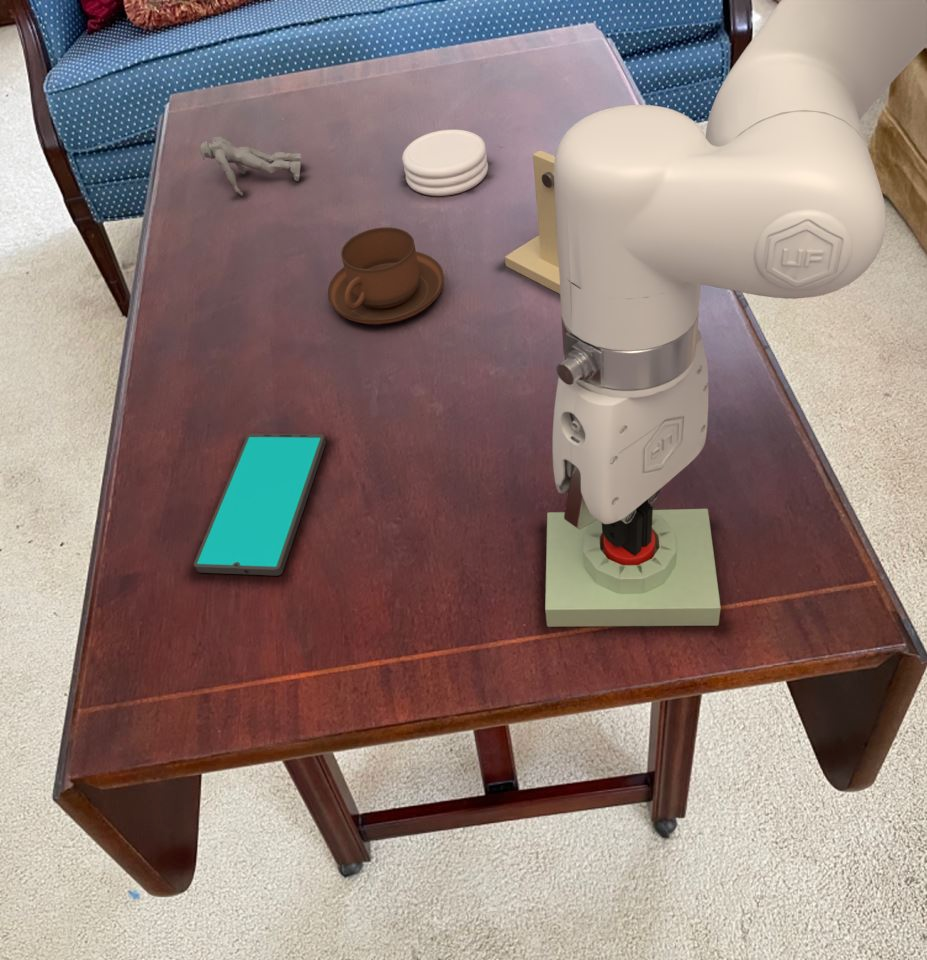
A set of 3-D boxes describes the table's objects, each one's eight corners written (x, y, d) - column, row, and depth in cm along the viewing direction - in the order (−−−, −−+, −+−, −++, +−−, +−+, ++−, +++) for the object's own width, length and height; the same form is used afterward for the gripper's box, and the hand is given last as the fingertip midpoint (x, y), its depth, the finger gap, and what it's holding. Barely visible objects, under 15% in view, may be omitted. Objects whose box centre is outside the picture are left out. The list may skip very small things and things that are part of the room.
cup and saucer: (432, 337, 92) (422, 285, 87) (317, 333, 95) (301, 283, 90) (457, 265, 100) (449, 214, 95) (350, 264, 102) (337, 214, 98)
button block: (706, 527, 72) (709, 492, 69) (718, 625, 66) (722, 592, 63) (548, 530, 74) (545, 496, 71) (547, 627, 67) (543, 594, 65)
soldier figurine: (297, 180, 121) (201, 164, 118) (301, 142, 118) (203, 124, 115) (296, 206, 117) (196, 190, 114) (300, 166, 113) (198, 149, 110)
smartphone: (324, 433, 83) (278, 569, 73) (327, 440, 84) (281, 576, 74) (246, 433, 84) (191, 566, 74) (249, 439, 85) (194, 572, 75)
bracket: (643, 263, 96) (645, 146, 86) (582, 306, 92) (577, 188, 83) (565, 227, 102) (559, 114, 93) (505, 266, 99) (493, 152, 89)
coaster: (420, 153, 117) (416, 127, 115) (497, 155, 115) (494, 128, 112) (395, 196, 111) (390, 169, 108) (476, 199, 108) (472, 171, 106)
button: (653, 534, 69) (653, 518, 67) (656, 573, 66) (656, 558, 65) (603, 535, 69) (602, 519, 68) (604, 574, 67) (604, 559, 66)
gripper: (587, 435, 48) (593, 634, 62) (765, 297, 54) (736, 506, 67) (488, 373, 52) (514, 572, 66) (663, 251, 58) (654, 456, 72)
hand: (626, 538), depth 67 cm, fingers closed
